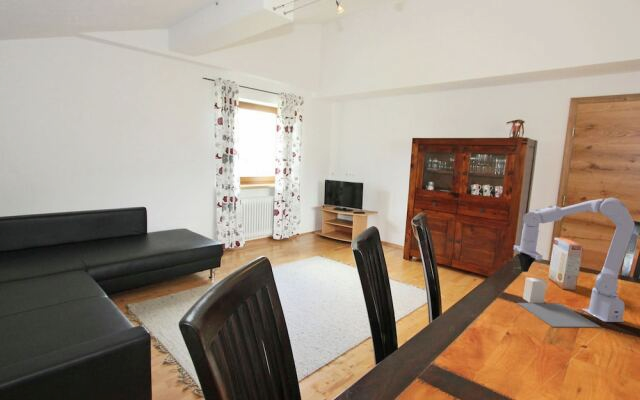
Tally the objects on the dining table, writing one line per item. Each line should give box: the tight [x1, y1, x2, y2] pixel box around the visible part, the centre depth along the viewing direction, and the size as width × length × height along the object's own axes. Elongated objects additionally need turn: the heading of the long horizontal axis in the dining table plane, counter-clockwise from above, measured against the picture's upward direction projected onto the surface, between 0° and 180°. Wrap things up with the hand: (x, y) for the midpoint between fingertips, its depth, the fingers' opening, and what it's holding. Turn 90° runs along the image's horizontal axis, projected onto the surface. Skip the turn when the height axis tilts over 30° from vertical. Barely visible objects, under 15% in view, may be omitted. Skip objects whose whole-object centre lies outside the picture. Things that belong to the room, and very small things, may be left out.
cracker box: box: [547, 237, 584, 291], centre depth 155 cm, size 14×6×21 cm, turn 168°
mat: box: [516, 302, 602, 328], centre depth 125 cm, size 18×18×1 cm
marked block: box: [522, 277, 548, 303], centre depth 136 cm, size 4×6×9 cm
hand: (524, 271), depth 142 cm, fingers closed
